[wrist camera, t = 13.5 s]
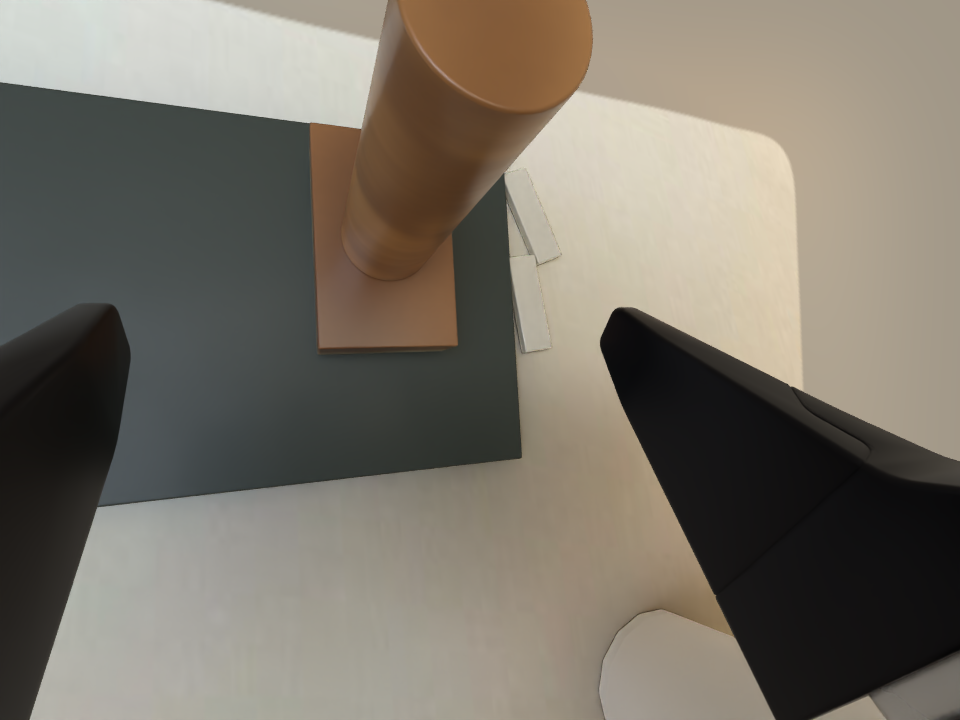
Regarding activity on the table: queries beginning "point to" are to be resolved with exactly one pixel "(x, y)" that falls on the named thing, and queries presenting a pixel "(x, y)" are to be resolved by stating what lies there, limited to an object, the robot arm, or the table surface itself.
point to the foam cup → (688, 675)
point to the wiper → (430, 159)
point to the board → (235, 301)
